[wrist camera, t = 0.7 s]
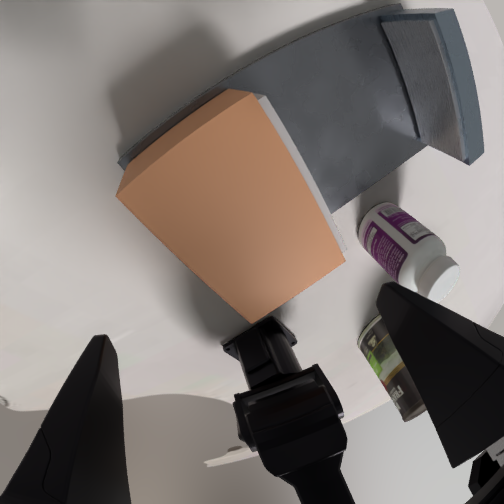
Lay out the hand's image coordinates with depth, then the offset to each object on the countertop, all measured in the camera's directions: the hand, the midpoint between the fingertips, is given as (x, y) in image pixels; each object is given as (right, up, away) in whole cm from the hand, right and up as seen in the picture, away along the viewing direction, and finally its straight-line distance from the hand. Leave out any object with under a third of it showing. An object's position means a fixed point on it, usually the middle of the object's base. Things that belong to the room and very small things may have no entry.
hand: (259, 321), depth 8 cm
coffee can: (+20, -9, +30) cm, 37 cm away
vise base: (+4, +11, +11) cm, 16 cm away
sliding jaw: (-1, +6, +10) cm, 12 cm away
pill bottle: (+12, +5, +18) cm, 22 cm away
